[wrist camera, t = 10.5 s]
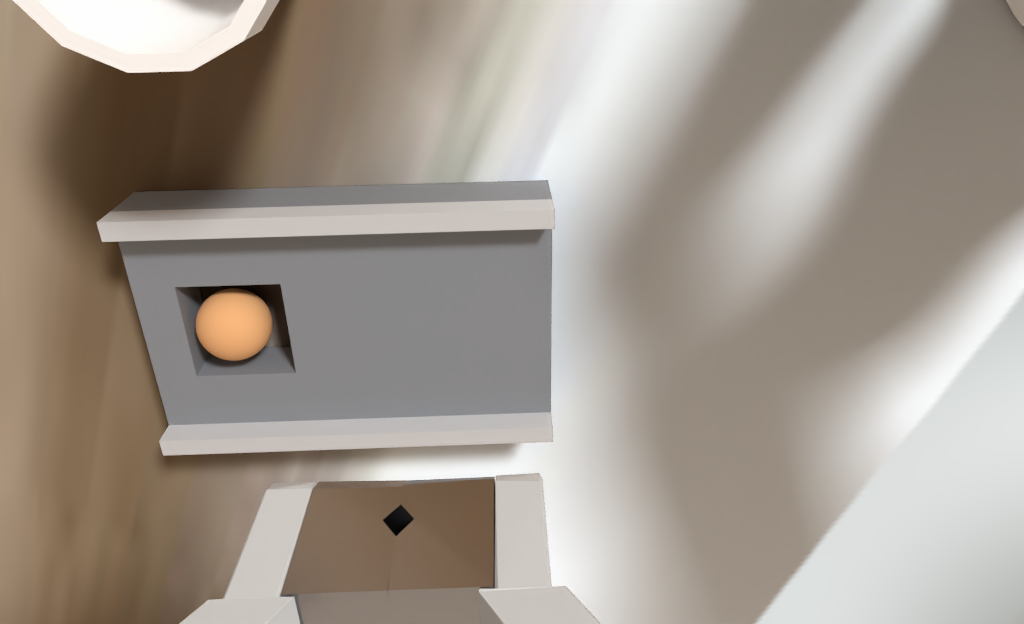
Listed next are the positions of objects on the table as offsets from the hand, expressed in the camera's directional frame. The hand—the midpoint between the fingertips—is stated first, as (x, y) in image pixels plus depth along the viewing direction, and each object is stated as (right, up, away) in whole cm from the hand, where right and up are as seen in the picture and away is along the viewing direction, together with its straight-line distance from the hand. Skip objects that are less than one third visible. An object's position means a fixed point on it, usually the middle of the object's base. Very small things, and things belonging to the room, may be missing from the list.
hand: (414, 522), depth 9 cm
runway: (-8, +3, +36) cm, 37 cm away
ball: (-14, +2, +34) cm, 37 cm away
